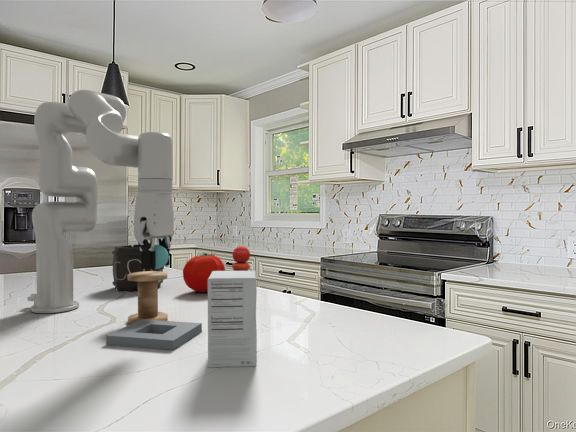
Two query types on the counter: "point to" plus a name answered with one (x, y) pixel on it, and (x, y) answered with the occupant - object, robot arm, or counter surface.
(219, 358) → the supplement box
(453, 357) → the counter surface
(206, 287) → the tomato
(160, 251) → the teal ball
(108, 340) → the square hole board
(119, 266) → the black lettered canister
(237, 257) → the stacking toy
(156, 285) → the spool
